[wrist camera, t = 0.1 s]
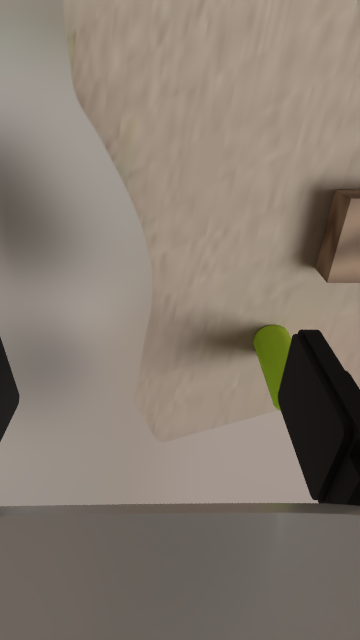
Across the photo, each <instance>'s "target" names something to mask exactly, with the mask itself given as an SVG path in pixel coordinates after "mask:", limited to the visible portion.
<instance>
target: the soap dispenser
mask: <svg viewBox="0 0 360 640" xmlns="http://www.w3.org/2000/svg"><path fill="white" fill-rule="evenodd" d="M291 340H292V339H291V337H290V335H289V333H288V331H287V330H286V329H285V328H283V327H282V326H279V325H269V326H266V327H264V328H262V329H260V330H259V331H258V332H257V333H256V335H255V337H254V340H253V343H254V347H255V350H256V353H257V356H258V359H259V362H260V365H261V368H262V371H263V374H264V377H265V380H266V383H267V386H268V389H269V392H270V395H271V398H272V401H273V404H274V406H275V407H276V408H277V409H278V410H280V411H281V409H280V407H279V403H278V392H279V388H280V384H281V380H282V376H283V372H284V368H285V364H286V360H287V356H288V352H289V348H290V344H291Z"/></svg>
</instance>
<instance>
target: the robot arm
mask: <svg viewBox="0 0 360 640" xmlns="http://www.w3.org/2000/svg"><path fill="white" fill-rule="evenodd" d="M18 403H19V393H18V390H17V387H16V384H15V381H14V377H13V374H12V371H11V368H10V365H9V362H8V359H7V356H6V353H5V350H4V347H3V344H2V341H1V338H0V441H1V439H2V437H3V435H4V433H5V431H6V429H7V427H8V425H9V423H10V420H11V418H12V416H13V414H14V412H15V410H16V408H17V406H18ZM278 403H279V407H280V409H281V412H282V415H283V418H284V421H285V424H286V427H287V429H288V432H289V435H290V438H291V440H292V444H293V446H294V449H295V452H296V455H297V458H298V461H299V464H300V467H301V469H302V472H303V475H304V478H305V481H306V484H307V487H308V489H309V492H310V495H311V497H312V499H313V500H318V502H319V504H317V503H315V504H314V503H312V504H311V503H212V504H122V505H56V506H5V507H4V506H3V507H0V640H360V389H359V387H358V386H357V384H356V383H355V381H354V380H353V378H352V377H351V375H350V374H349V373H348V372H347V371H345V370H344V368H343V367H342V365H341V363H340V362H339V360H338V359H337V357H336V356H335V354H334V352H333V351H332V349H331V348H330V346H329V344H328V343H327V341H326V340H325V338H324V336H323V335H322V333H321V332H320V331H319V330H300V331H299V332H298V334H294V335H293V336H292V340H291V344H290V348H289V352H288V356H287V360H286V364H285V368H284V372H283V376H282V380H281V384H280V388H279V392H278Z"/></svg>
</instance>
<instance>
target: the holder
mask: <svg viewBox="0 0 360 640" xmlns="http://www.w3.org/2000/svg"><path fill="white" fill-rule="evenodd" d="M315 269H316V270H317V271H318V272H319V273H320V275H321V276H322V277H323V278H324V280H325V281H326V282H327V283H360V190H335V194H334V198H333V202H332V206H331V210H330V213H329V217H328V221H327V225H326V229H325V233H324V237H323V240H322V244H321V248H320V252H319V256H318V260H317V264H316V268H315Z"/></svg>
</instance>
